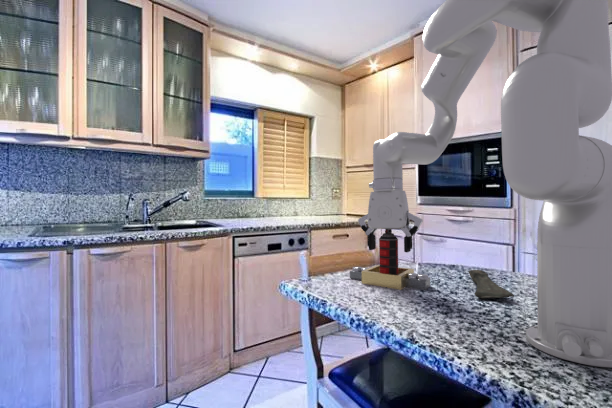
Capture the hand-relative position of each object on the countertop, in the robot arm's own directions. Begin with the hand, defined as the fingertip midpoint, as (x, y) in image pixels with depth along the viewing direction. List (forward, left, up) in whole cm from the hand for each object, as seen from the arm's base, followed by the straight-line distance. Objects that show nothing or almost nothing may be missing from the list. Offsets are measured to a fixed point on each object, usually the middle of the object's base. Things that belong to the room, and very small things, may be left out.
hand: (389, 250), depth 87 cm
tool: (+10, -24, -10) cm, 27 cm away
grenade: (0, +1, -9) cm, 9 cm away
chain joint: (0, 0, -9) cm, 9 cm away
